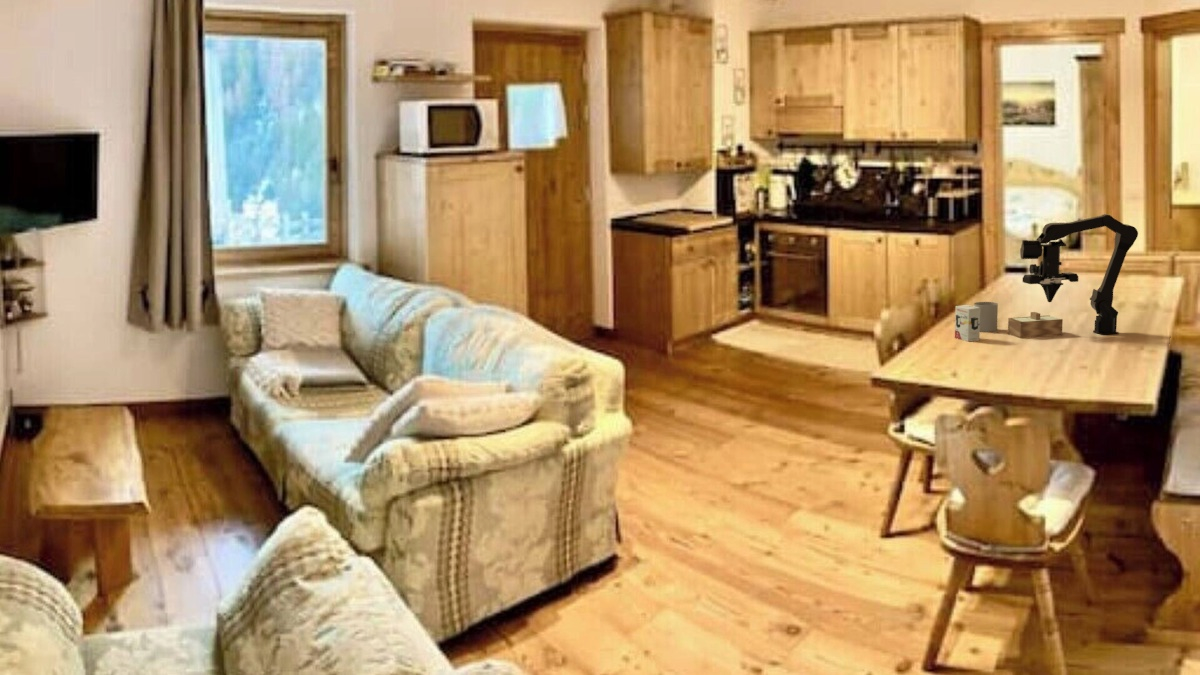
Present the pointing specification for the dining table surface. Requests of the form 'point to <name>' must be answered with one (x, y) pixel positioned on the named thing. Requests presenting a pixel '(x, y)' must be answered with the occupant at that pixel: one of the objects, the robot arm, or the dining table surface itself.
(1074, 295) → the dining table surface
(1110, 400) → the dining table surface
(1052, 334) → the box
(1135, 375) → the dining table surface
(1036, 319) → the lid
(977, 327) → the ink box
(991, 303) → the cup
